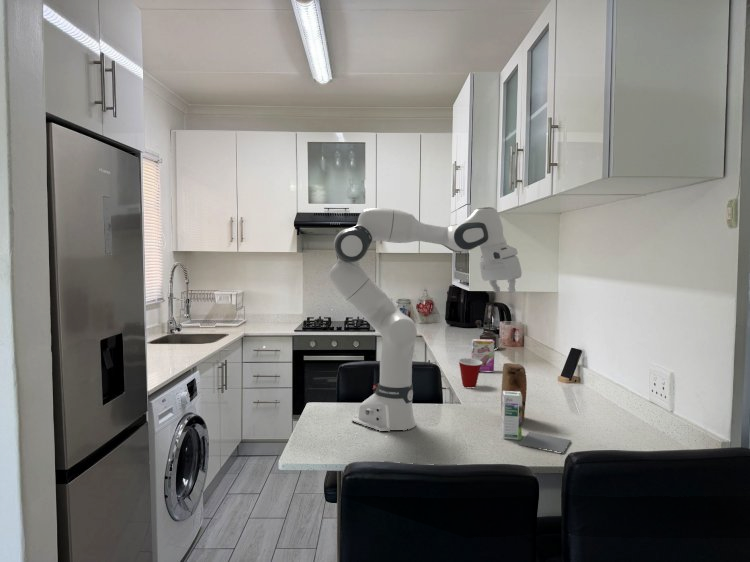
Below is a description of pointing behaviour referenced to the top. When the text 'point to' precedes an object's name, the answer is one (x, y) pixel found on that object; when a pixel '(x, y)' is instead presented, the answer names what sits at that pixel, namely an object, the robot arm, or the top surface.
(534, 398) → the top surface
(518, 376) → the block
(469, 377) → the plastic cup
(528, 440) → the mat
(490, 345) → the candy bar box
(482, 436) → the top surface
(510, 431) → the syrup box
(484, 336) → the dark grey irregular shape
